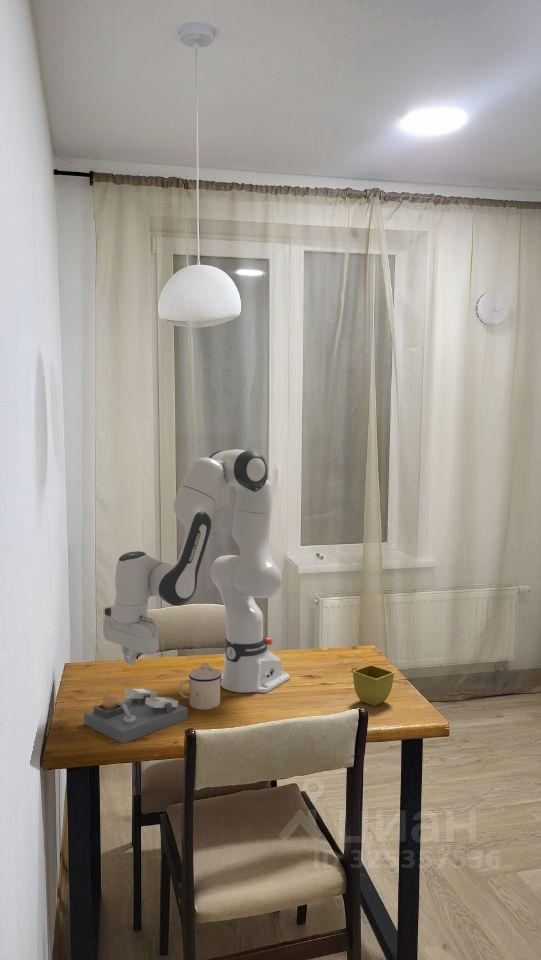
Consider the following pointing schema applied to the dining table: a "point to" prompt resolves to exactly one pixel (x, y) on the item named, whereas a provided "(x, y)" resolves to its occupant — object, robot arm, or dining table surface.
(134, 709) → the panel
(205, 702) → the teacup with lid
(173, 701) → the rocker
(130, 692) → the rocker
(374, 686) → the flower pot
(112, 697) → the button
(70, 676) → the dining table surface
